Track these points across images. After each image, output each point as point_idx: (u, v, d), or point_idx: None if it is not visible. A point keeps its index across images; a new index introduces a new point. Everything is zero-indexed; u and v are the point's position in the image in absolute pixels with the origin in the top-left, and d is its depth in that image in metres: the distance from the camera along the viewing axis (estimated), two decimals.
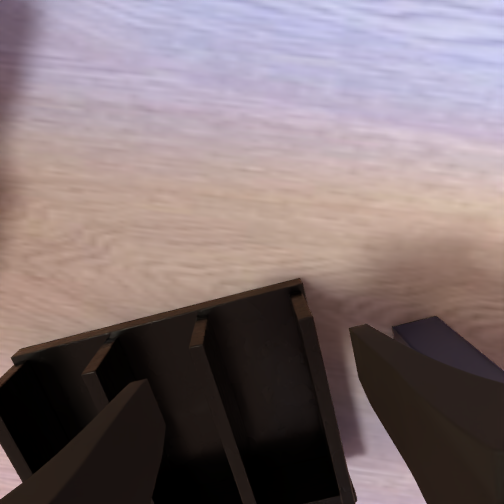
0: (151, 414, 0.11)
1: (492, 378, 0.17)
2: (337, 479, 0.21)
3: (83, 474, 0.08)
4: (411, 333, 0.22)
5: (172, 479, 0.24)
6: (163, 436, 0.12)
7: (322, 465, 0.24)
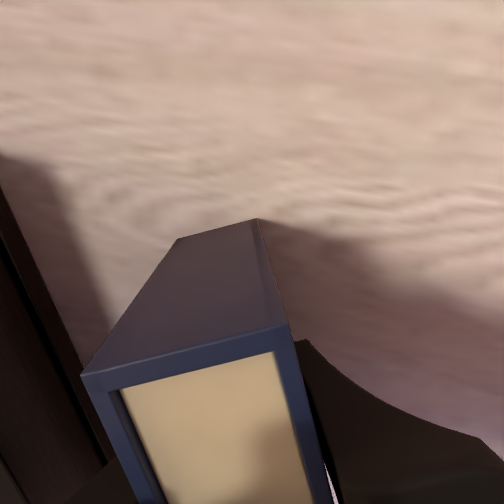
0: None
1: (233, 290, 0.06)
2: None
3: None
4: (191, 242, 0.11)
5: None
6: None
7: None
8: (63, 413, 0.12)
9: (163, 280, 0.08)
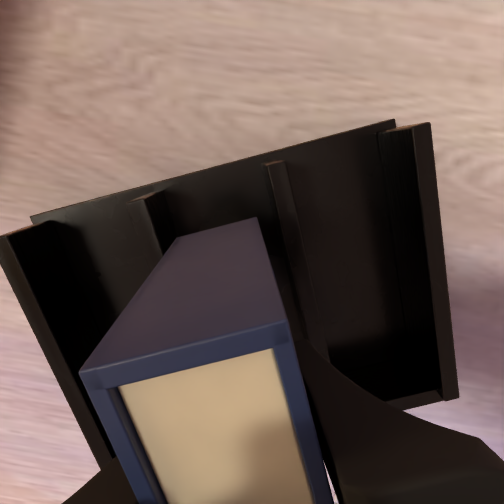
0: None
1: (232, 288, 0.06)
2: (440, 362, 0.16)
3: None
4: (190, 240, 0.11)
5: None
6: None
7: (405, 364, 0.20)
8: None
9: (162, 278, 0.08)
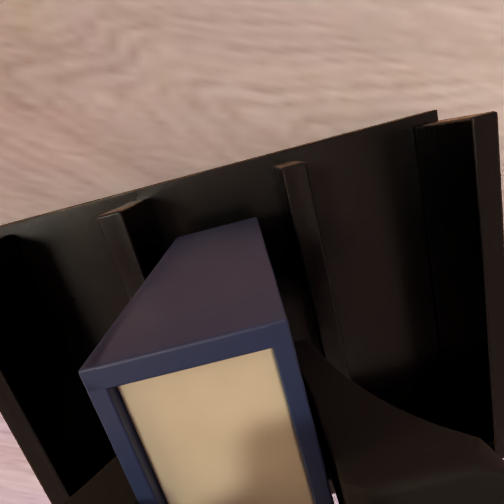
0: None
1: (232, 287, 0.06)
2: (494, 412, 0.13)
3: None
4: (190, 240, 0.11)
5: None
6: None
7: (441, 405, 0.16)
8: None
9: (162, 278, 0.08)
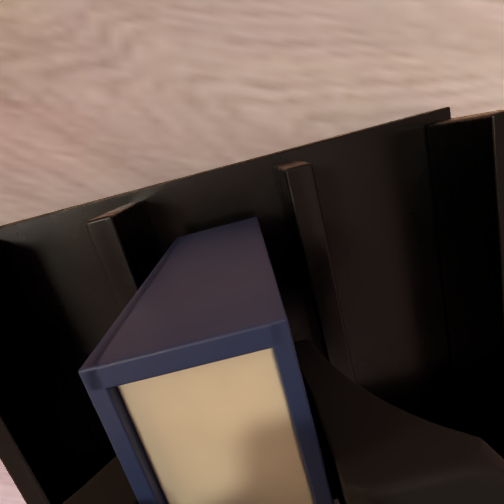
0: None
1: (232, 287, 0.06)
2: None
3: None
4: (190, 240, 0.11)
5: None
6: None
7: (452, 418, 0.16)
8: None
9: (162, 278, 0.08)
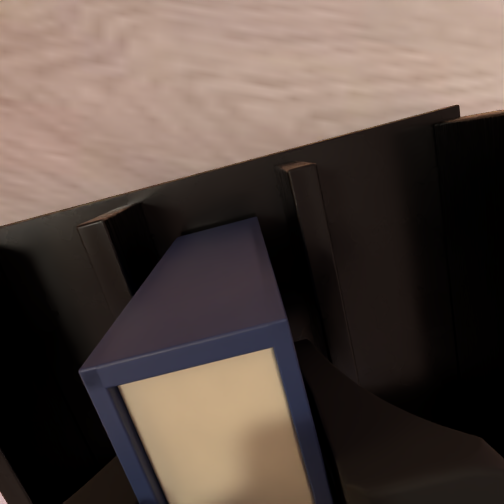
0: None
1: (232, 287, 0.06)
2: None
3: None
4: (190, 240, 0.11)
5: None
6: None
7: (459, 428, 0.15)
8: None
9: (162, 277, 0.08)
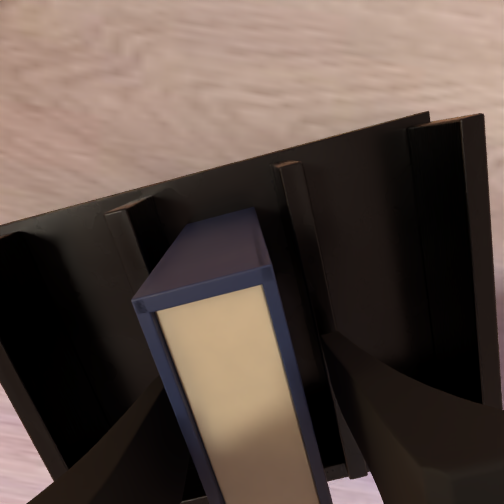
0: None
1: (234, 251, 0.09)
2: (483, 402, 0.14)
3: (125, 464, 0.08)
4: (199, 225, 0.14)
5: None
6: None
7: None
8: None
9: (180, 250, 0.10)
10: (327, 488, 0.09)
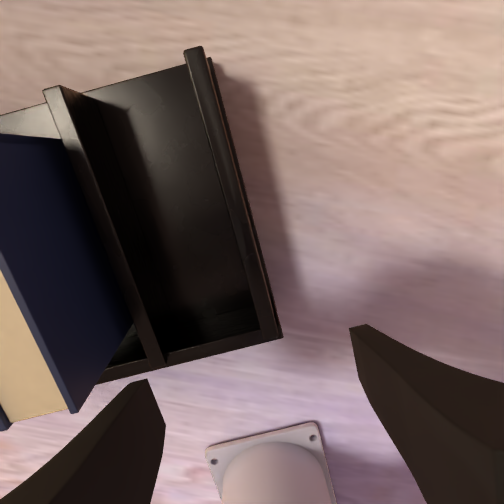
0: (151, 414, 0.11)
1: None
2: (253, 298, 0.16)
3: (83, 474, 0.08)
4: None
5: None
6: (163, 436, 0.12)
7: (249, 311, 0.20)
8: (257, 249, 0.19)
9: None
10: (31, 318, 0.11)
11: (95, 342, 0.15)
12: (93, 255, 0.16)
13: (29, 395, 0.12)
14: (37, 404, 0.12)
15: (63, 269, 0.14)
